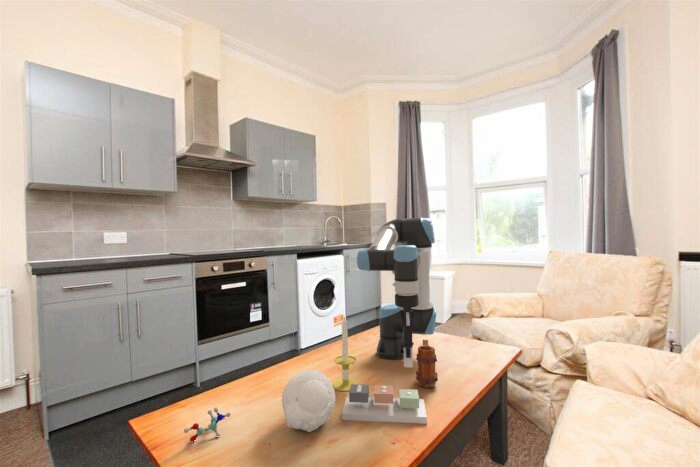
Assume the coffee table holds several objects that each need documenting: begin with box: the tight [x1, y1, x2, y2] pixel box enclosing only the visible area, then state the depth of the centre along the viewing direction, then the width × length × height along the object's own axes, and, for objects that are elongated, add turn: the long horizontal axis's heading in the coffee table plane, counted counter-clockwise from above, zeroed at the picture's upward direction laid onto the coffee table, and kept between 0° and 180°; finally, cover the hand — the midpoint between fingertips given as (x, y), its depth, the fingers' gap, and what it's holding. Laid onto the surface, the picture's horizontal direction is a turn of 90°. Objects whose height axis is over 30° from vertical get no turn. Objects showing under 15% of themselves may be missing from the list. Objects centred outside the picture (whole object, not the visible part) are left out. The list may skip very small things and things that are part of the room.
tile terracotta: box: [373, 384, 394, 404], centre depth 107 cm, size 6×6×3 cm
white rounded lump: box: [281, 369, 336, 433], centre depth 101 cm, size 20×18×16 cm
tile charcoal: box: [348, 383, 370, 403], centre depth 108 cm, size 6×6×3 cm
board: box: [341, 395, 428, 425], centre depth 107 cm, size 11×26×3 cm, turn 83°
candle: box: [332, 316, 359, 392], centre depth 127 cm, size 10×10×27 cm
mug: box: [415, 339, 439, 389], centre depth 128 cm, size 15×8×15 cm, turn 168°
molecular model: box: [183, 407, 232, 442], centre depth 96 cm, size 12×10×10 cm
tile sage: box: [398, 388, 420, 408], centre depth 106 cm, size 6×6×3 cm
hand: (408, 366), depth 107 cm, fingers closed
